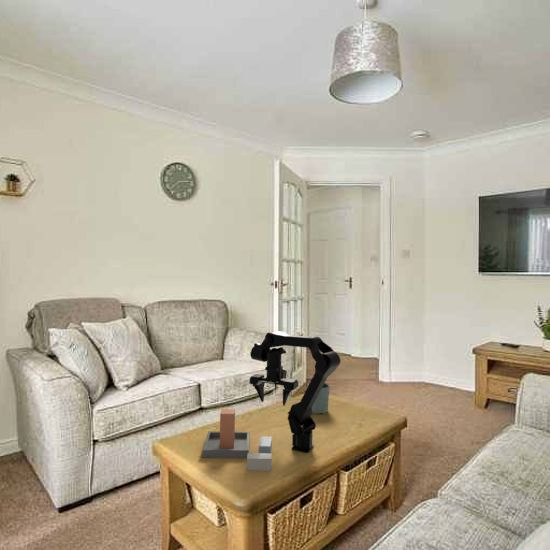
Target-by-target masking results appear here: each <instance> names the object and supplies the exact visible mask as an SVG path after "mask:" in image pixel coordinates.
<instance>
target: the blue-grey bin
mask: <svg viewBox="0 0 550 550" xmlns="http://www.w3.org/2000/svg"><path fill="white" fill-rule="evenodd" d="M309 384H310V382H309V383H307V387H308V386H309ZM329 397H330V384H328V383H326V382H325V383H324V385H323V387H322V389H321V391H320V393H319V395H318V396H317V398H316V400H315V402H314V404H313V406H312V412H313V413H312V414H316V413H324V414H327V413H328V412H327V411H329ZM326 412H327V413H326Z"/></svg>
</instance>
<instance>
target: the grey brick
mask: <svg viewBox="0 0 550 550" xmlns="http://www.w3.org/2000/svg"><path fill="white" fill-rule="evenodd" d="M272 458H273V457H272V452H271V453H259V452H249V453H248V455H247V458H246V470H247V471H258V470H259V471H262V472H263V471H264V472H265V471H267V472H268V471H272Z"/></svg>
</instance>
